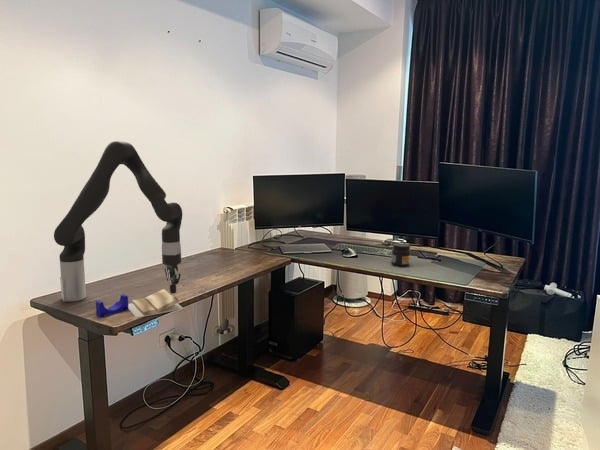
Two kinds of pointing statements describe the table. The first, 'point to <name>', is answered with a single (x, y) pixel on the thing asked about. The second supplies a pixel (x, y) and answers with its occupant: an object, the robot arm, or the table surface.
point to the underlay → (139, 314)
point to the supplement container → (401, 255)
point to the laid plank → (144, 306)
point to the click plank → (162, 300)
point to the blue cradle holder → (112, 307)
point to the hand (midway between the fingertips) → (173, 292)
